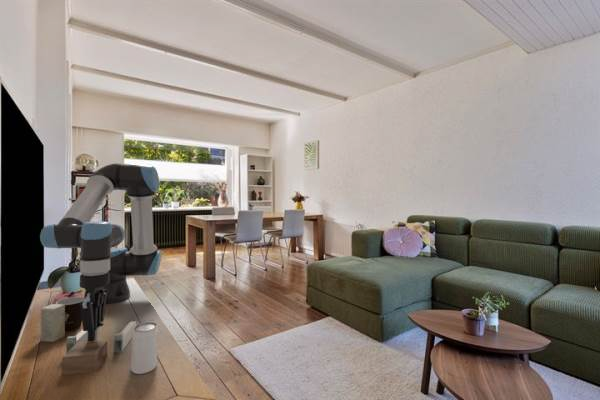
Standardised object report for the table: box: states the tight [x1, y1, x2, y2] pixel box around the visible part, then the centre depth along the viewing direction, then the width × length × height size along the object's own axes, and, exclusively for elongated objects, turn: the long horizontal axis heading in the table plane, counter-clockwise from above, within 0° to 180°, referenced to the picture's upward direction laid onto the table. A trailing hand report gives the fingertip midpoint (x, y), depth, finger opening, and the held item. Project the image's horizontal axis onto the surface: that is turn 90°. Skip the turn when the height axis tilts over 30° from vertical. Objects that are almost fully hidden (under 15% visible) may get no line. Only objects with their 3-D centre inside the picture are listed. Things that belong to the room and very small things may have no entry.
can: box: [130, 322, 159, 375], centre depth 84 cm, size 6×6×12 cm
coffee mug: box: [56, 296, 85, 333], centre depth 107 cm, size 12×9×10 cm
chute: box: [65, 320, 137, 354], centre depth 97 cm, size 14×15×6 cm
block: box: [61, 340, 109, 376], centre depth 84 cm, size 8×8×5 cm
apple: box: [53, 291, 84, 304], centre depth 117 cm, size 10×9×10 cm
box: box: [40, 303, 66, 343], centre depth 99 cm, size 5×4×11 cm
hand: (92, 349), depth 89 cm, fingers closed
